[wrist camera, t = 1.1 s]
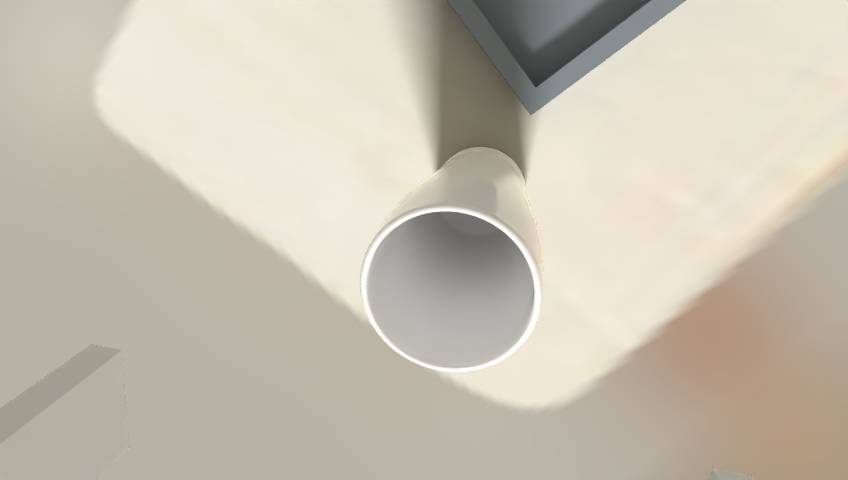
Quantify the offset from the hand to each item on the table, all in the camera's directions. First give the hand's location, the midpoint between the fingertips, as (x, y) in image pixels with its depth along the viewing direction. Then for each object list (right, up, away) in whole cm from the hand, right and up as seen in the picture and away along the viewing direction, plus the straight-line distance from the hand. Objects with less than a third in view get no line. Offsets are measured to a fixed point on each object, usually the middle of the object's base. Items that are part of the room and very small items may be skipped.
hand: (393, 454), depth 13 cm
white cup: (+4, +8, +22) cm, 24 cm away
